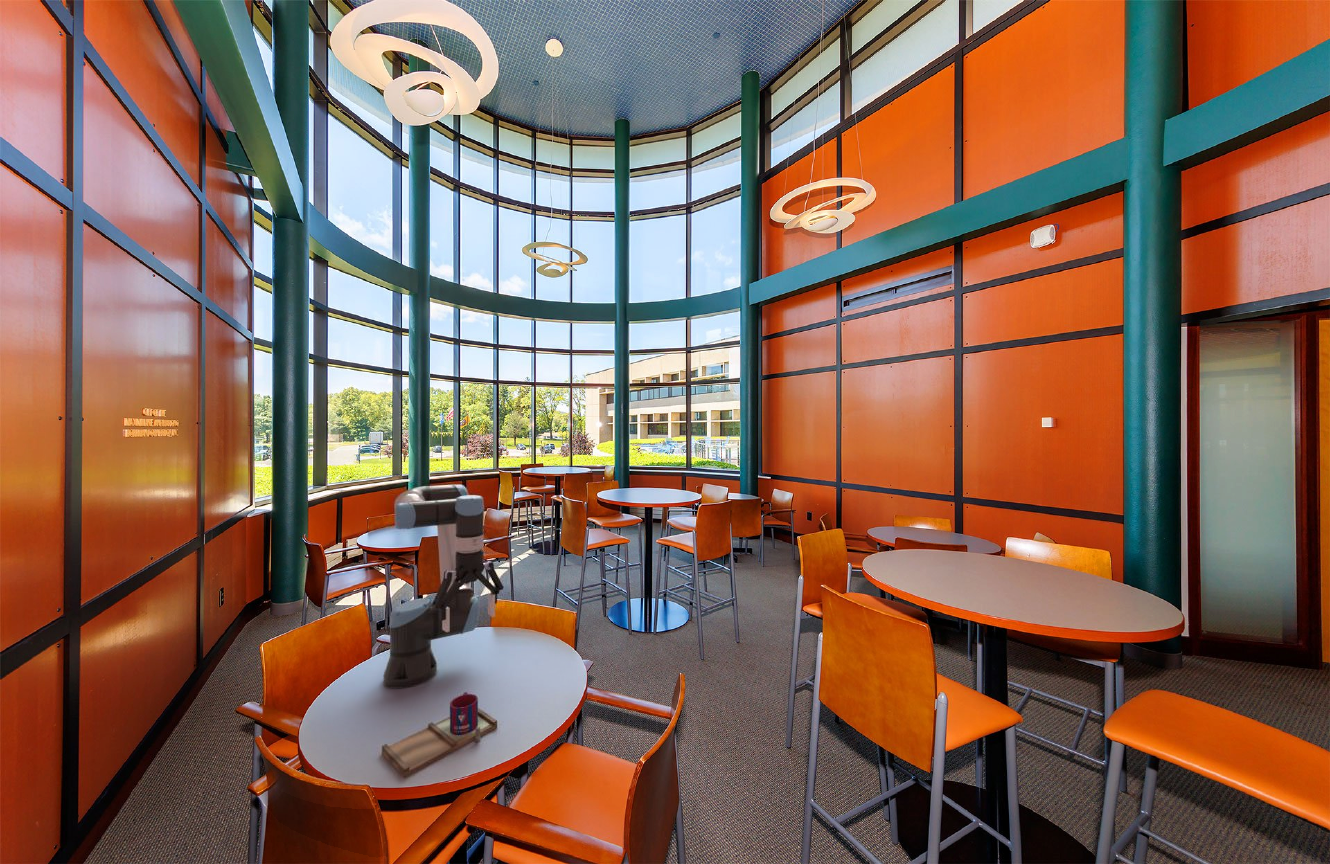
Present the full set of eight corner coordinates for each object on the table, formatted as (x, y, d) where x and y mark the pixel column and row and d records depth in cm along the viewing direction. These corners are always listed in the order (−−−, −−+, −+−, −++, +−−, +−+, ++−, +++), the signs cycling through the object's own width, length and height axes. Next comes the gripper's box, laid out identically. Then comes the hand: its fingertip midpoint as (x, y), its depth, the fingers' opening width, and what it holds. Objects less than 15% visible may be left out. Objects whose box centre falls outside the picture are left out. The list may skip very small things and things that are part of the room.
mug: (447, 736, 117) (447, 709, 117) (455, 714, 127) (455, 689, 127) (475, 732, 118) (475, 706, 119) (481, 710, 128) (481, 685, 128)
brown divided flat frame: (381, 753, 113) (381, 740, 113) (471, 709, 131) (471, 698, 131) (407, 780, 104) (407, 766, 104) (500, 729, 121) (500, 718, 122)
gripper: (431, 561, 122) (430, 641, 122) (515, 543, 141) (515, 612, 141) (418, 556, 127) (418, 633, 127) (502, 539, 146) (501, 606, 146)
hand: (469, 622), depth 134 cm, fingers open, 13 cm apart
